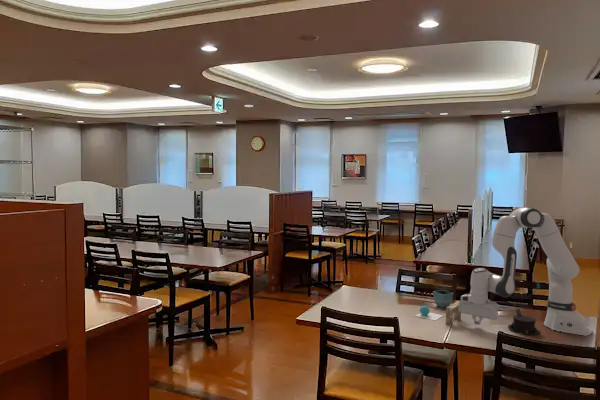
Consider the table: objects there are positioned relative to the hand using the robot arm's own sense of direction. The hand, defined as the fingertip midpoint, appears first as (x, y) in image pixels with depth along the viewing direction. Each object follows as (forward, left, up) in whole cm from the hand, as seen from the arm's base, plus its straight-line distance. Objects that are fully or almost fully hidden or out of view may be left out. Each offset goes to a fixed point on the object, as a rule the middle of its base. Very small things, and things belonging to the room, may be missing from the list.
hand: (477, 324), depth 247 cm
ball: (+30, +1, +1) cm, 30 cm away
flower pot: (+29, -24, -2) cm, 38 cm away
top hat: (-20, -12, -2) cm, 24 cm away
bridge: (+13, 0, -2) cm, 13 cm away
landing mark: (+27, 0, -2) cm, 27 cm away
